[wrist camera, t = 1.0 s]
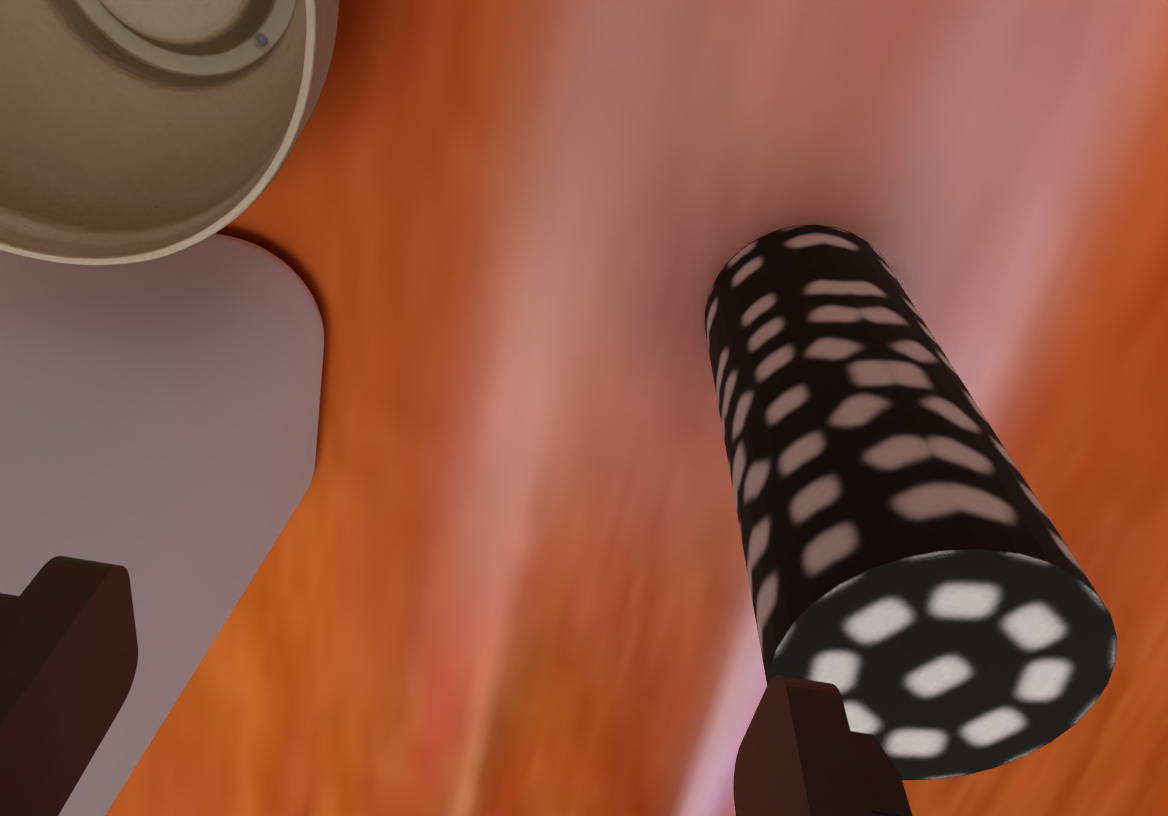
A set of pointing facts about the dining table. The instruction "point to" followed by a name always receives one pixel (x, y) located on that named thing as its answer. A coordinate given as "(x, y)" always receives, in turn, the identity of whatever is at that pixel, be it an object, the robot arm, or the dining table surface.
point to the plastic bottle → (155, 447)
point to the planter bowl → (148, 118)
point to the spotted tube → (891, 517)
